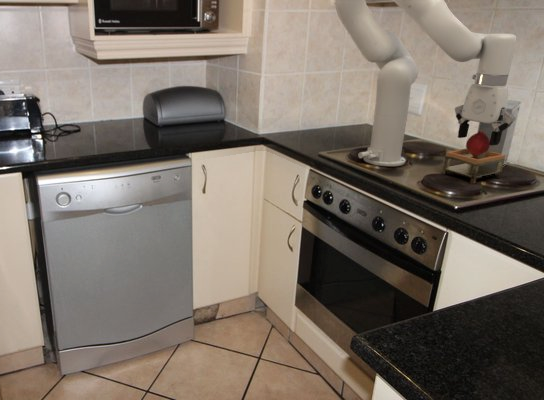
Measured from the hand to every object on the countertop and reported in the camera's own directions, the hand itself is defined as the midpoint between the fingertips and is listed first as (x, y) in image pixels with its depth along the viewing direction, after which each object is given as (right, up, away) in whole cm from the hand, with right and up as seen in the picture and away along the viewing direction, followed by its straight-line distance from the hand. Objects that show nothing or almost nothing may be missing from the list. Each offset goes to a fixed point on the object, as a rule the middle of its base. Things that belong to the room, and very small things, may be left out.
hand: (477, 141), depth 138 cm
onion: (0, -5, +2) cm, 5 cm away
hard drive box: (+10, -7, +11) cm, 17 cm away
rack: (0, -10, +4) cm, 11 cm away
